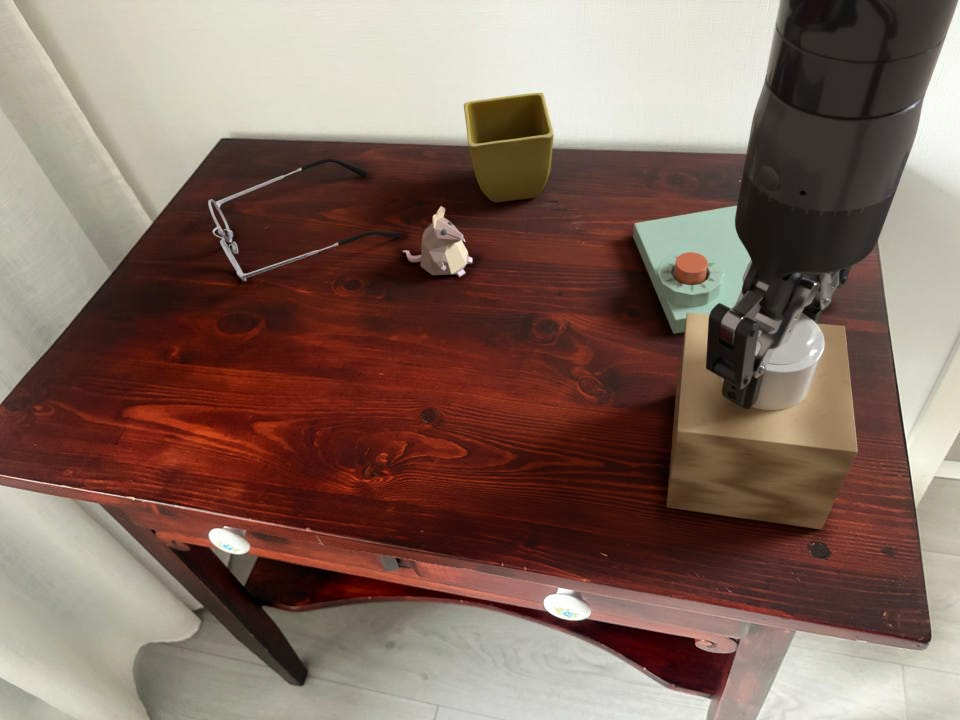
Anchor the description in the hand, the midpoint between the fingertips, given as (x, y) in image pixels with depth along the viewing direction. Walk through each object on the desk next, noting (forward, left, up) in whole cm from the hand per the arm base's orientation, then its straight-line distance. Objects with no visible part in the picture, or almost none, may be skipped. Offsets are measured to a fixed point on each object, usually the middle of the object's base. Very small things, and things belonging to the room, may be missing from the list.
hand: (766, 369), depth 51 cm
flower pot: (+39, -14, -11) cm, 43 cm away
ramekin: (0, 0, -1) cm, 1 cm away
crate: (0, 0, -11) cm, 11 cm away
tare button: (+14, -12, -7) cm, 19 cm away
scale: (+13, -17, -11) cm, 24 cm away
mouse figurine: (+37, 0, -11) cm, 38 cm away
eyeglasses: (+52, +6, -11) cm, 53 cm away
